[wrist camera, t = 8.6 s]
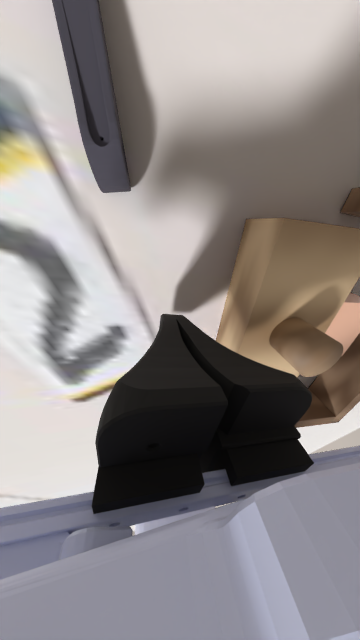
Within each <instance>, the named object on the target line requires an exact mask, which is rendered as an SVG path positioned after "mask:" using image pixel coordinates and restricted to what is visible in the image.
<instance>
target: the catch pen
mask: <svg viewBox="0 0 360 640" xmlns="http://www.w3.org/2000/svg"><path fill="white" fill-rule="evenodd" d="M341 213H345V214H349V215H353V216H357V217H360V188H354V189H352V190H351V192H350V194H349V196H348V198H347V200H346V202H345V204H344V206H343V208H342V210H341ZM308 390H309V391H310V392H311V393H312V402H311V405H310V407H309V408H308V410H307V411H306V413H305V414H304V415H303V416H302V417H301V419H300V420H299V421H298V422H297V423H296V425H295V428H298V427H305V426H313V425H321V424H328V423H336V422H339V421H340V420H341V419H342V418H343V417H344V416H345V415H346V414H347V413H348V412H349V411H350V410H351V409H352V408H353V407H354V406H355V405H356V404H357V403H358V402H359V401H360V333H359V334H358V336H357V337H356V338H355V340H354V341H353V342H352V344H351V345H350V346H349V348H348V349H347V350H346V352H345V353H344V354H343V356H341V357H340V359H339V360H338V361H337V362H336V363H335V364H334V365H333V366H332V367H331V368H330V369H328V370H327V371H325V372H323V373H321V374H319V375H318V377H317V378H316V379H315V381H314V382H313V383H312V385H311V386H310V387H309V389H308Z"/></svg>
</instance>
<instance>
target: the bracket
mask: <svg viewBox="0 0 360 640" xmlns="http://www.w3.org/2000/svg"><path fill="white" fill-rule="evenodd" d="M52 2H53V7H54V11H55V16H56V20H57V25H58V30H59V34H60V39H61V43H62V48H63V52H64V57H65V61H66V66H67V70H68V75H69V80H70V84H71V89H72V94H73V98H74V103H75V108H76V113H77V119H78V124H79V128H80V133H81V137H82V141H83V145H84V148H85V151H86V154H87V157H88V160H89V163H90V166H91V169H92V172H93V174H94V177H95V179H96V182H97V184H98V186H99V188H100V190H101V191H102V192H103V193H109V192H126V191H131V187H130V180H129V175H128V169H127V163H126V157H125V152H124V146H123V140H122V134H121V128H120V123H119V117H118V111H117V105H116V99H115V94H114V88H113V82H112V76H111V71H110V65H109V59H108V53H107V47H106V42H105V36H104V30H103V24H102V19H101V13H100V7H99V1H98V0H52Z"/></svg>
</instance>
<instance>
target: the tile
mask: <svg viewBox="0 0 360 640" xmlns="http://www.w3.org/2000/svg"><path fill="white" fill-rule="evenodd" d="M359 333H360V296H358V295H356V294H353V293H349V295H348V297H347V298H346V300H345V302H344V303H343V305H342V306H341V308H340V310H339V311H338V313H337V314H336V316H335V318H334V319H333V321H332V323H331V324H330V326H329V327H328V329H327V331H326V332H325V334H327V335H328V336H330V337H332V338H333V339H335V340H336V341H338V342H340V343H341V344H342V345H343V353H342V355H341V356H343V354H344V353H345V352H346V350H347V349H348V348H349V346H350V345H351V344H352V342H353V341H354V340H355V338H356V337H357V336H358V334H359Z"/></svg>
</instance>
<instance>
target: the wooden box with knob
mask: <svg viewBox="0 0 360 640" xmlns="http://www.w3.org/2000/svg"><path fill="white" fill-rule="evenodd" d="M359 277H360V229H358V228H351V227H344V226H337V225H330V224H323V223H316V222H309V221H302V220H295V219H288V218H265V219H246V222H245V226H244V230H243V234H242V238H241V242H240V246H239V250H238V254H237V258H236V262H235V266H234V270H233V274H232V278H231V282H230V286H229V290H228V294H227V298H226V302H225V306H224V310H223V314H222V318H221V322H220V326H219V330H218V334H217V338H216V341H217V342H218V343H220V344H221V345H223V346H225V347H227V348H228V349H230V350H232V351H234V352H236V353H238V354H240V355H242V356H244V357H246V358H249V359H251V360H253V361H256V362H258V363H261V364H264V365H266V366H269V367H272V368H275V369H278V370H281V371H284V372H287V373H290V374H293V375H295V376H296V377H297V378H298V376H299V374H301V375H302V376H304V377H313V376H316V375H319V374H321V373H323V372H325V371H327V370H328V369H330V368H331V367H332V366H333V365H334V364H335V363H336V362H337V361H338V360H339V359H340V357H341V355H342V353H343V345H342V344H341V343H340V342H338V341H336V340H335V339H333V338H332V337H330V336H328V335H327V334H325V332H326V331H327V329H328V327H329V326H330V324H331V323H332V321H333V319H334V318H335V316H336V314H337V313H338V311H339V310H340V308H341V306H342V305H343V303H344V302H345V300H346V298H347V297H348V295H349V293H350V292H351V290H352V289H353V287H354V285H355V284H356V282H357V281H358V279H359Z"/></svg>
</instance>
